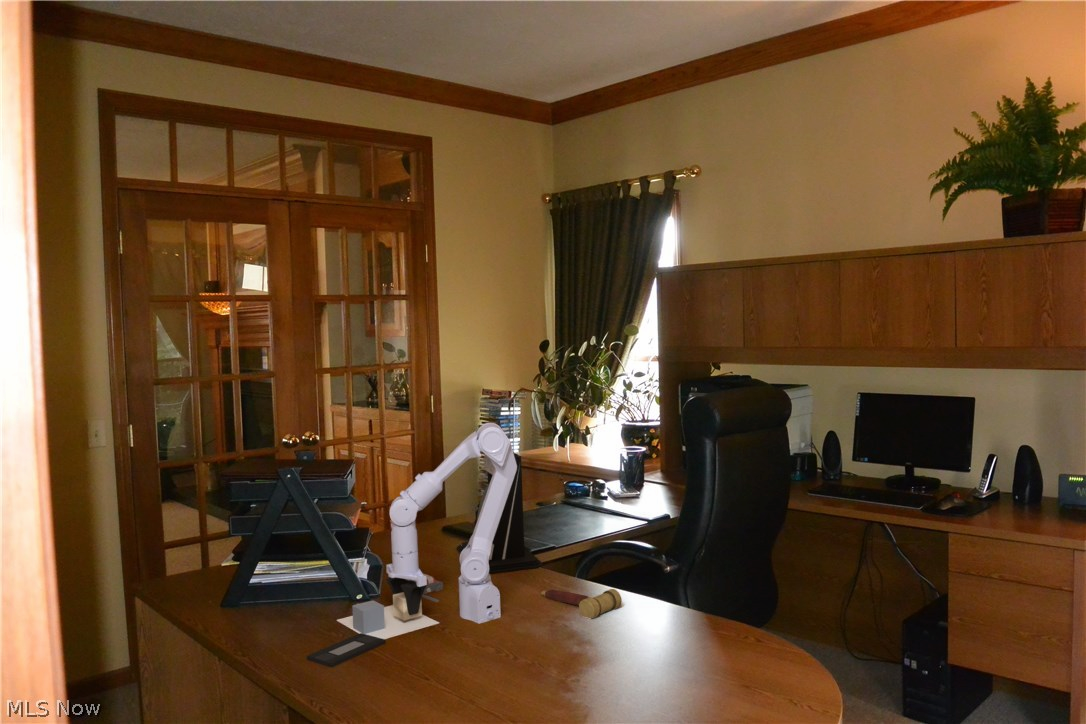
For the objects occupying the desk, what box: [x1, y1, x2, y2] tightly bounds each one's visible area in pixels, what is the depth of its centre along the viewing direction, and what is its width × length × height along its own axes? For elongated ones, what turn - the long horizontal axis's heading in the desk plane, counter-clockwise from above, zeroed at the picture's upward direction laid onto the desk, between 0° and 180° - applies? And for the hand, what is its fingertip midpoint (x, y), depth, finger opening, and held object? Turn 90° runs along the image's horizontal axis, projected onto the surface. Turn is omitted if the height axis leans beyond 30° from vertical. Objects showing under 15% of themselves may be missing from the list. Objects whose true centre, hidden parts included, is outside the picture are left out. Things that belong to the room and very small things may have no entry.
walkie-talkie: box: [421, 573, 444, 603], centre depth 207 cm, size 9×4×20 cm
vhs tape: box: [306, 633, 387, 668], centre depth 169 cm, size 8×14×2 cm, turn 144°
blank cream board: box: [336, 604, 440, 640], centre depth 185 cm, size 18×16×1 cm
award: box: [456, 451, 543, 575], centre depth 237 cm, size 30×19×30 cm, turn 17°
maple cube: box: [392, 592, 423, 620], centre depth 186 cm, size 5×5×5 cm
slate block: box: [351, 600, 385, 634], centre depth 181 cm, size 5×5×5 cm
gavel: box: [541, 588, 623, 619], centre depth 195 cm, size 21×5×10 cm
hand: (407, 611), depth 186 cm, fingers closed on maple cube, 5 cm apart
